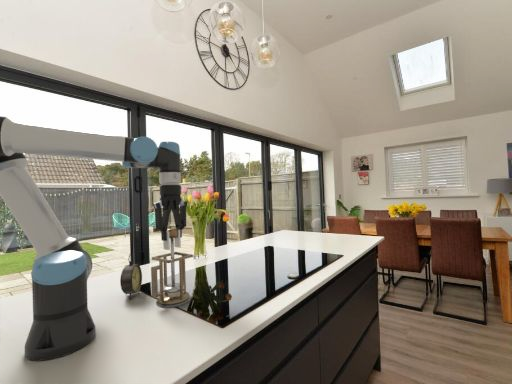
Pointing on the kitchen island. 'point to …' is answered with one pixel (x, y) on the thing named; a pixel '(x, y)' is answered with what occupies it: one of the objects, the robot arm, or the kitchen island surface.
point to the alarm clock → (131, 278)
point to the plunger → (172, 265)
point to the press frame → (166, 298)
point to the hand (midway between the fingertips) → (172, 248)
